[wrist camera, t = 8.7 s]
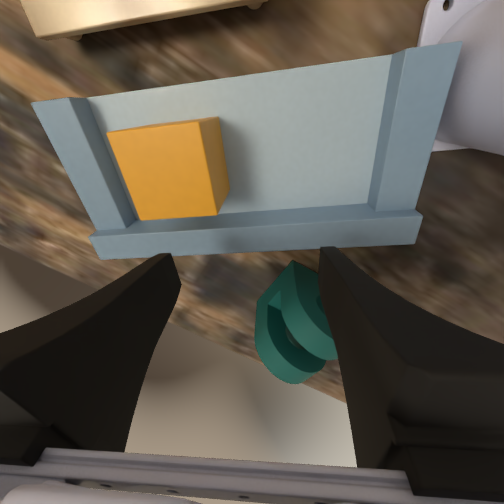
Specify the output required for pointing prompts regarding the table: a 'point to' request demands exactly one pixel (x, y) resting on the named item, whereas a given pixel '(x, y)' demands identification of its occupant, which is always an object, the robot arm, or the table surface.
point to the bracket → (293, 326)
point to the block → (173, 167)
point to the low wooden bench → (112, 14)
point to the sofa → (272, 155)
